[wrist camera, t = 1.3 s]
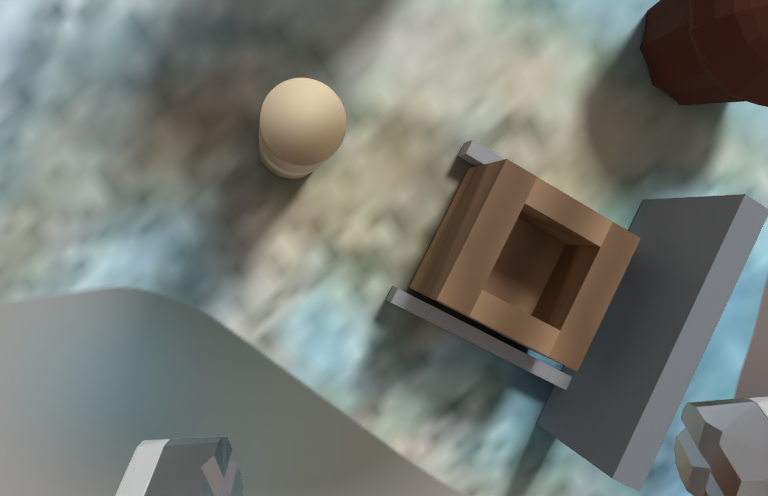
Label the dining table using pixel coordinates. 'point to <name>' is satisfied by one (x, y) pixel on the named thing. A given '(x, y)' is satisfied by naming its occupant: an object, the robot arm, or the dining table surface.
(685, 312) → the backstop
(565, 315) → the socket block
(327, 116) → the dowel
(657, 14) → the muffin
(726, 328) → the dining table surface
